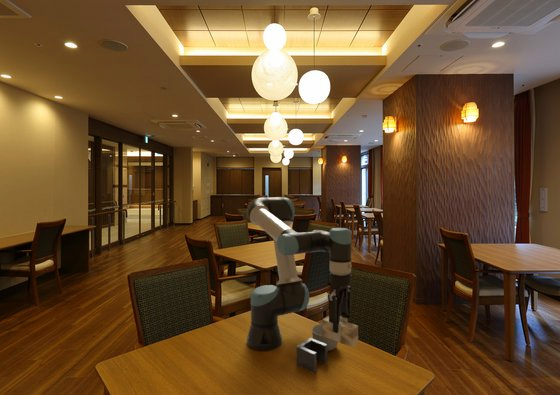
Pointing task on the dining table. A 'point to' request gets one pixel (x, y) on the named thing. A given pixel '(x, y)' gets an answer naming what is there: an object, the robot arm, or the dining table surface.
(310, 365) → the end cap
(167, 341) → the dining table surface
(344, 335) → the beige marbled block
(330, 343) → the teacup
